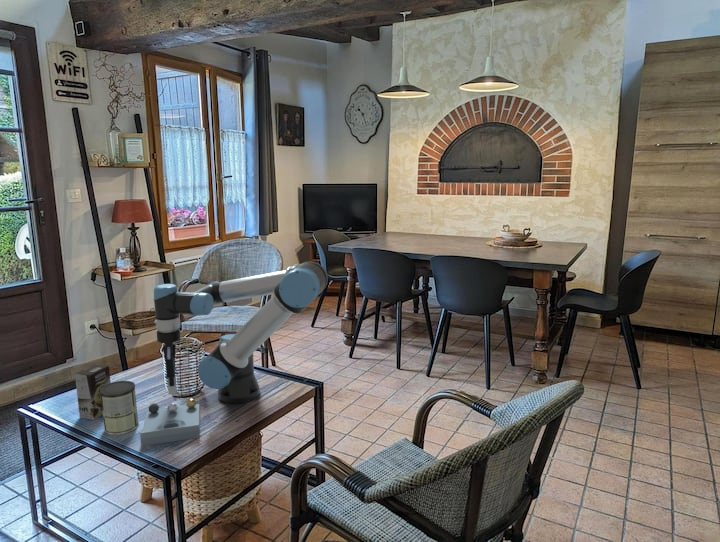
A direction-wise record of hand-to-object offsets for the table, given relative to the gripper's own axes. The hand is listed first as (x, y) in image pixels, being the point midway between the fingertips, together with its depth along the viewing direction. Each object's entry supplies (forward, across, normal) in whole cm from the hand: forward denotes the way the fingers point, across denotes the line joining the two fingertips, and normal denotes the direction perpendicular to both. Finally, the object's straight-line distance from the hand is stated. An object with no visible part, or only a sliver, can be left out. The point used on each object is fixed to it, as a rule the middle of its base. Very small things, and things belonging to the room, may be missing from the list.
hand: (172, 393), depth 179 cm
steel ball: (+1, +9, 0) cm, 9 cm away
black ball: (+1, +8, -6) cm, 10 cm away
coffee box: (+6, -3, -25) cm, 26 cm away
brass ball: (+1, +8, +6) cm, 10 cm away
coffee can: (+6, +10, -16) cm, 19 cm away
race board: (+5, +15, 0) cm, 16 cm away
